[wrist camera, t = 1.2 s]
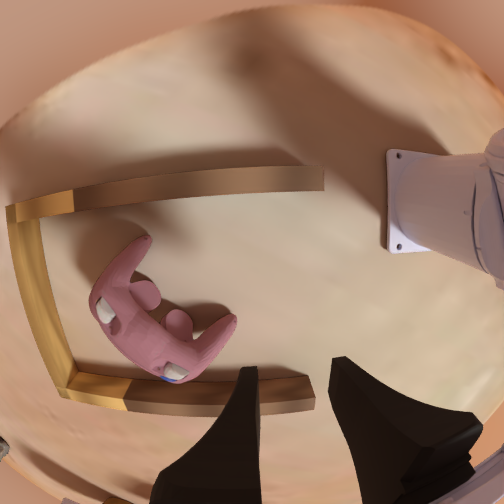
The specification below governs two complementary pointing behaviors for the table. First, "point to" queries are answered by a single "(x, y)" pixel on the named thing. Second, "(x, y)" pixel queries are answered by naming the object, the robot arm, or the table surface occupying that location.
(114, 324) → the video game controller
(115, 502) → the plant pot
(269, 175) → the bay
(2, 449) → the mineral rock
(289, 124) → the table surface
